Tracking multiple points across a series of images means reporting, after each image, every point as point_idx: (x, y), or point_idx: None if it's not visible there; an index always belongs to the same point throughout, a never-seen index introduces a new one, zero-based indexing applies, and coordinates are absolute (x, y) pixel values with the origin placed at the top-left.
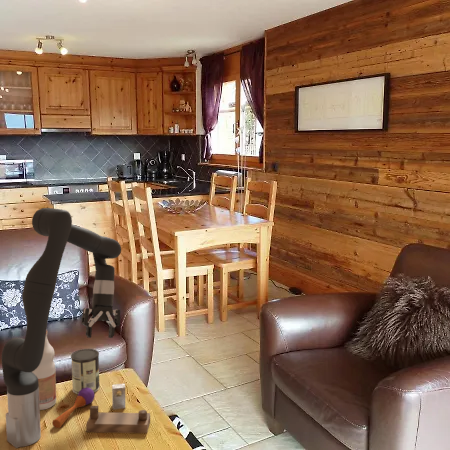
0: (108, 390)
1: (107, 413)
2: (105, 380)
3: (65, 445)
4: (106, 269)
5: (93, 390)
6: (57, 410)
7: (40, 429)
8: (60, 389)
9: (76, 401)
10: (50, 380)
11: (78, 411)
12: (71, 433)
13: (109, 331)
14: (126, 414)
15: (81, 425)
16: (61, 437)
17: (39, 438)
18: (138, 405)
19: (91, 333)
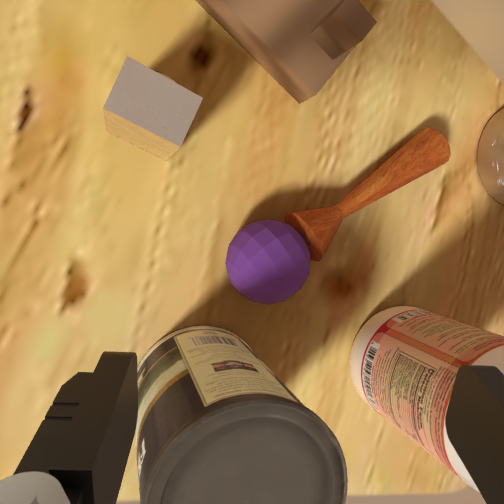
0: (113, 309)
1: (263, 29)
2: None
3: (443, 14)
4: None
5: (190, 331)
6: (372, 271)
7: (498, 134)
8: None
9: (334, 224)
10: (472, 342)
11: None
12: (397, 72)
13: (117, 477)
14: None
15: (347, 98)
16: (433, 74)
17: (491, 118)
18: (51, 66)
19: (494, 397)
